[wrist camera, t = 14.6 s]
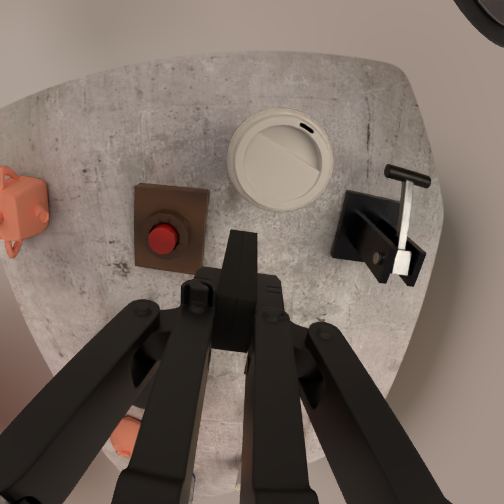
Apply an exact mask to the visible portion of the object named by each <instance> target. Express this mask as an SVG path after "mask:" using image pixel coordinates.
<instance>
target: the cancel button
mask: <svg viewBox="0 0 504 504" xmlns="http://www.w3.org/2000/svg"><path fill="white" fill-rule="evenodd" d="M148 241H149V245H150V247H151V248H152V249H153V250H154V251H155V252H157V253H159V254H167V253H169V252H171V251H172V250H173V248H174V247H175V245H176V243H177V241H178V234H177V232H176V230H175V229H174V228H173V227H172V226H171V225H169V224H159V225H157V226H156V227H155V228H154V229H153V230H152V231H151V233H150V234H149V238H148Z"/></svg>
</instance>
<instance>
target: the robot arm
mask: <svg viewBox="0 0 504 504" xmlns="http://www.w3.org/2000/svg"><path fill="white" fill-rule="evenodd" d="M473 1H474V2H475V3H476V5H477V6H478V7H479V8H480V9H481V11H482V12H483V13H484V14H485V15H486V16H487V17H488V18H489V19H490V20H492V21H493V22H494V23H495V24H497V25H499V26H500V27H503V28H504V0H473ZM211 348H213V349H220V350H228V351H236V352H244V353H247V352H248V356H247V361H246V366H245V371H244V374H246V379H245V400H244V421H243V443H242V464H241V485H240V504H319V501H318V496H317V494H316V492H315V491H314V490H312V489H311V488H310V486H309V480H308V469H307V459H306V449H305V439H304V430H303V421H302V412H301V403H300V398H301V400H302V402H303V405H304V407H305V409H306V412H307V414H308V416H309V419H310V421H311V423H312V426H313V428H314V430H315V433H316V435H317V437H318V439H319V442H320V444H321V446H322V449H323V451H324V453H325V456H326V458H327V460H328V462H329V464H330V467H331V469H332V471H333V474H334V476H335V478H336V480H337V483H338V485H339V488H340V490H341V492H342V494H343V496H344V499H345V501H346V503H347V504H452V503H451V502H450V501H448V500H447V499H446V498H445V497H444V495H443V494H442V492H441V490H440V489H439V487H438V485H437V483H436V482H435V480H434V478H433V477H432V475H431V473H430V472H429V470H428V468H427V467H426V465H425V463H424V462H423V460H422V458H421V457H420V455H419V453H418V452H417V450H416V448H415V447H414V445H413V443H412V442H411V440H410V439H409V437H408V435H407V434H406V432H405V431H404V429H403V427H402V426H401V424H400V422H399V421H398V419H397V418H396V416H395V415H394V413H393V411H392V410H391V408H390V407H389V405H388V403H387V402H386V400H385V399H384V397H383V396H382V394H381V392H380V391H379V389H378V388H377V386H376V385H375V383H374V382H373V380H372V378H371V377H370V375H369V374H368V372H367V371H366V369H365V368H364V366H363V365H362V363H361V362H360V360H359V359H358V357H357V355H356V354H355V352H354V351H353V349H352V348H351V346H350V345H349V343H348V342H347V340H346V339H345V337H344V336H343V334H342V333H341V331H340V330H339V329H338V328H337V327H335V326H334V325H332V324H329V323H326V322H316V323H313V324H311V325H310V327H309V329H308V328H305V327H302V326H299V325H296V324H294V323H293V322H291V321H290V318H289V315H288V314H287V313H286V312H285V310H284V302H283V294H282V287H281V281H280V280H279V279H278V278H277V276H276V275H268V274H260V273H257V233H253V232H246V231H239V230H232V229H231V230H230V235H229V239H228V243H227V248H226V252H225V257H224V261H223V266H222V269H218V268H211V267H203V266H202V267H201V268H200V269H198V270H197V271H196V274H195V276H194V279H192V280H188V281H186V282H184V283H183V284H182V285H181V305H180V307H178V308H174V309H168V310H160V307H159V306H158V305H157V303H155V302H153V301H151V300H146V299H140V300H135V301H132V302H131V303H129V304H128V305H127V306H126V307H125V308H124V309H123V310H122V311H120V312H119V313H118V314H117V315H116V316H115V317H114V318H113V319H112V320H111V321H110V322H109V323H108V324H107V325H106V326H105V327H104V328H103V329H102V330H101V331H100V332H99V333H97V334H96V335H95V336H94V337H93V338H92V339H91V340H90V341H89V342H88V343H87V344H86V345H85V346H84V347H83V348H82V349H81V350H80V351H79V352H78V353H77V354H76V355H75V356H74V357H73V358H72V359H71V360H70V361H69V362H68V363H67V364H66V365H65V366H64V367H63V368H62V369H61V370H60V371H59V372H58V373H57V374H56V375H55V376H54V377H53V379H52V380H51V381H50V382H49V383H48V384H47V385H46V386H45V387H44V388H43V389H42V390H41V391H40V392H39V393H38V394H37V395H36V396H35V397H34V398H33V400H32V401H31V402H30V403H29V404H28V405H27V406H26V407H25V408H24V409H23V410H22V411H21V413H20V414H19V415H18V416H17V417H16V418H15V419H14V420H13V421H12V422H11V424H10V425H9V426H8V427H7V428H6V429H5V430H4V431H3V432H2V434H1V435H0V504H62V503H63V502H64V501H65V500H66V498H67V497H68V496H69V494H70V493H71V492H72V490H73V489H74V487H75V486H76V484H77V483H78V481H79V480H80V479H81V477H82V476H83V474H84V473H85V471H86V470H87V469H88V467H89V466H90V464H91V462H92V461H93V460H94V458H95V457H96V455H97V454H98V453H99V451H100V450H101V448H102V447H103V446H104V444H105V443H106V441H107V440H108V438H109V437H110V436H111V434H112V433H113V431H114V430H115V428H116V427H117V426H118V424H119V423H120V421H121V420H122V419H123V417H124V416H125V414H126V413H127V411H128V410H129V409H130V407H131V406H132V404H133V403H134V402H135V400H136V399H137V397H138V396H139V394H140V393H141V392H142V390H143V389H144V387H145V386H146V385H147V383H148V382H149V380H150V379H151V378H152V376H153V375H154V373H155V372H156V371H157V369H158V371H157V374H156V377H155V380H154V383H153V386H152V389H151V392H150V395H149V399H148V402H147V405H146V408H145V411H144V415H143V418H142V421H141V425H140V428H139V431H138V435H137V438H136V441H135V445H134V448H133V452H132V455H131V459H130V462H129V465H128V467H127V468H126V469H124V470H122V472H121V473H120V475H119V478H118V480H117V484H116V487H115V491H114V495H113V498H112V502H111V504H189V497H190V489H191V482H192V475H193V468H194V461H195V454H196V447H197V440H198V434H199V427H200V421H201V414H202V408H203V402H204V395H205V389H206V383H207V377H208V371H209V365H210V359H211Z"/></svg>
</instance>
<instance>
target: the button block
mask: <svg viewBox="0 0 504 504" xmlns="http://www.w3.org/2000/svg"><path fill="white" fill-rule="evenodd" d="M209 193H210V190H204V189H196V188H187V187H177V186H167V185H157V184H146V183H140V184H138V185H136V186H135V199H134V249H135V266H138V267H145V268H152V269H158V270H165V271H172V272H179V273H186V274H193V275H195V274H196V271H197V270H198V269H200V268H201V267H202V266H203V256H204V244H205V233H206V222H207V212H208V202H209ZM159 224H169V225H171V226H172V227H173V228H174V229H175V230H176V232H177V234H178V241H177V243H176V245H175V247H174V248H173V250H172V251H171V252H169V253H167V254H159V253H157V252H155V251H154V250H153V249H152V248H151V247H150V245H149V241H148V238H149V234H150V233H151V231H152V230H153V229H154V228H155V227H156V226H157V225H159Z"/></svg>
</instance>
